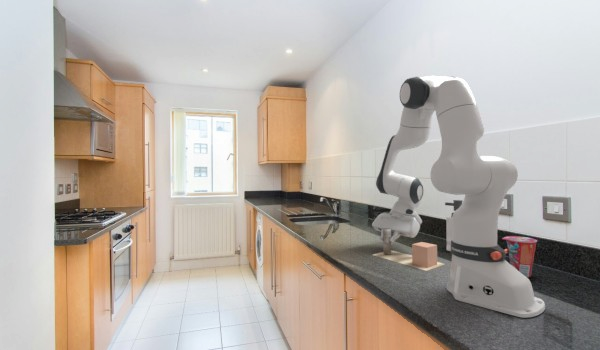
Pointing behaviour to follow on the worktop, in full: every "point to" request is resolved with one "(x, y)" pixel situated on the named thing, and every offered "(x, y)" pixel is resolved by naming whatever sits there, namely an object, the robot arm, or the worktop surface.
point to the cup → (521, 253)
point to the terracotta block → (424, 254)
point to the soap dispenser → (449, 222)
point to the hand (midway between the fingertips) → (386, 240)
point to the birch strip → (399, 254)
